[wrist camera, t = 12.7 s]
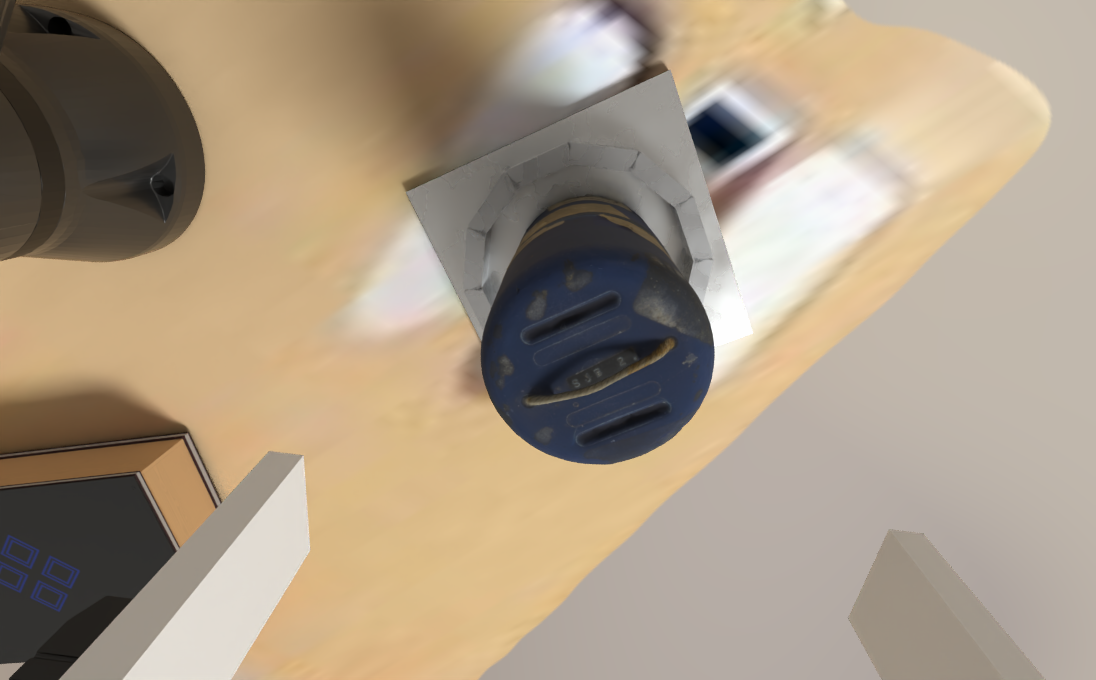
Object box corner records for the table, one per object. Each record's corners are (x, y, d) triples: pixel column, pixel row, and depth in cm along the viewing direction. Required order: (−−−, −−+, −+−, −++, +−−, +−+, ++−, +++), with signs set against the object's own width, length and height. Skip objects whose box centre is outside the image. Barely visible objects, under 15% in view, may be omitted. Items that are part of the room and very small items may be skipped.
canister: (503, 207, 35) (436, 283, 18) (648, 177, 34) (716, 231, 17) (534, 340, 39) (500, 506, 22) (667, 318, 37) (738, 475, 21)
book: (268, 585, 50) (225, 649, 44) (34, 604, 53) (-38, 667, 47) (195, 426, 44) (133, 476, 38) (-67, 457, 47) (-164, 508, 41)
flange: (408, 191, 36) (393, 197, 33) (668, 70, 32) (677, 65, 29) (519, 411, 42) (515, 433, 39) (750, 330, 38) (764, 347, 35)
